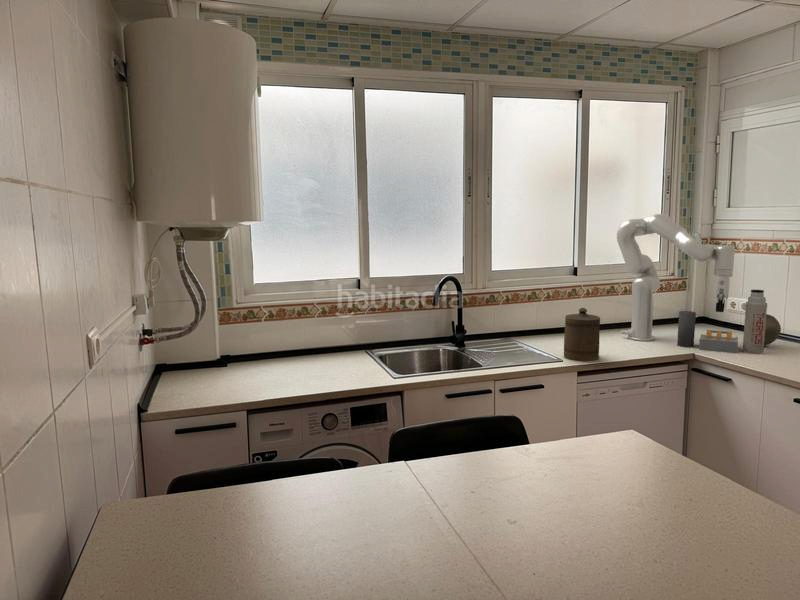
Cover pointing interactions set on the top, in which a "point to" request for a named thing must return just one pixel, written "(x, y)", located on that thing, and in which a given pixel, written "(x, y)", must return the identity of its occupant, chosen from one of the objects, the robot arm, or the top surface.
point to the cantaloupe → (771, 329)
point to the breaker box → (718, 343)
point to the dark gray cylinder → (686, 329)
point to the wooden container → (581, 336)
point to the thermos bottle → (755, 323)
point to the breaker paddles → (719, 333)
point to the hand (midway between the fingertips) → (719, 310)
